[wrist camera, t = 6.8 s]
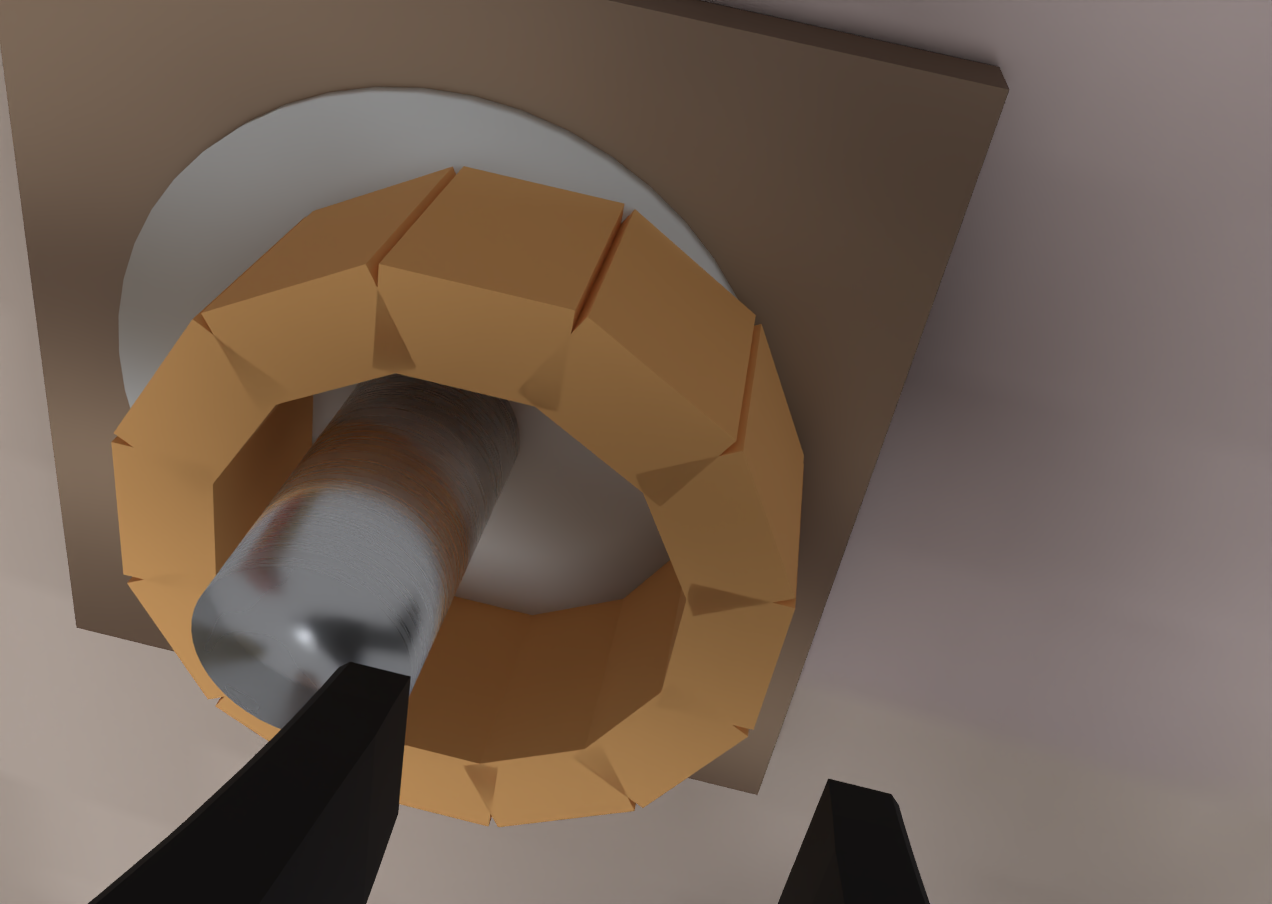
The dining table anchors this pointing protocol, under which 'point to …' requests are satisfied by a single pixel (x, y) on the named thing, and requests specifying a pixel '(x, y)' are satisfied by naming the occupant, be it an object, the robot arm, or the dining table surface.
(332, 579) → the steel shaft
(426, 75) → the walnut base plate
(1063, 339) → the dining table surface
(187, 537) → the wooden ring
